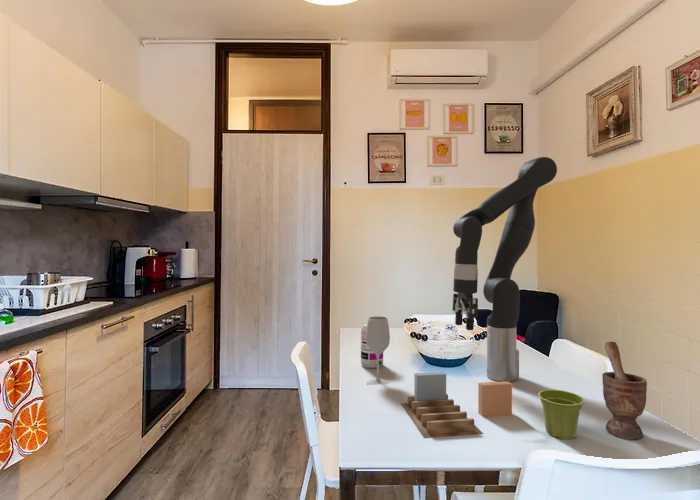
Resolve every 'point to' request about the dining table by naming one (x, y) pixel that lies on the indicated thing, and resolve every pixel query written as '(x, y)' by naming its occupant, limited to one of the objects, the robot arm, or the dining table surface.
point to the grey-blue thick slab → (429, 386)
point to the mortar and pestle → (623, 397)
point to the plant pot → (561, 412)
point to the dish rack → (439, 418)
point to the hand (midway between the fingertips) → (463, 327)
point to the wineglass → (377, 341)
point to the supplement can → (368, 352)
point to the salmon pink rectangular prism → (495, 398)
